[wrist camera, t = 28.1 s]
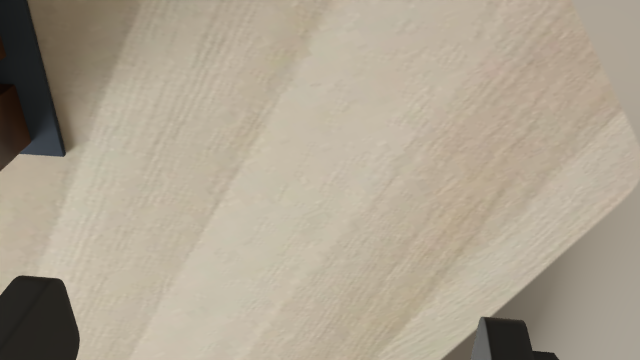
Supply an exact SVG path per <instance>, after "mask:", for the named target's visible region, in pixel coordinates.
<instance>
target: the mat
mask: <svg viewBox="0 0 640 360" xmlns="http://www.w3.org/2000/svg"><path fill="white" fill-rule="evenodd" d="M0 36H1V39H2V43H3V46H4V50H5V53H6V57H5V58H3V59H2V60H0V84H12V85H15V87H16V90H17V93H18V97H19V100H20V104H21V107H22V111H23V114H24V118H25V121H26V125H27V128H28V131H29V135H30V138H31V143H30V144H29V145H28V146H27V147H26V148H25V149H24V150H23V151H21V152H20V153H19V154H31V155H46V156H60V157H64V156H65V155H66V152H65V148H64V144H63V140H62V137H61V133H60V129H59V125H58V121H57V117H56V113H55V109H54V105H53V102H52V98H51V94H50V90H49V86H48V82H47V78H46V74H45V70H44V66H43V63H42V59H41V55H40V51H39V47H38V43H37V39H36V35H35V31H34V28H33V24H32V20H31V16H30V12H29V8H28V4H27V0H0Z"/></svg>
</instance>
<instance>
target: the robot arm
mask: <svg viewBox="0 0 640 360" xmlns="http://www.w3.org/2000/svg"><path fill="white" fill-rule="evenodd" d="M79 342H80V337H79V331H78V327H77V324H76V321H75V317H74V314H73V311H72V307H71V304H70V301H69V297H68V294H67V291H66V287H65V285H64V283H63V281H62V280H60V279H57V278H46V277H34V276H23V275H22V276H18V277H16V278H15V279H14V280H13V281H12V282H11V283H10V284H9V285H8V287H7V288H6V289H5V290H4V292H3V293H2V294H1V295H0V360H76V357H77V354H78V350H79ZM471 360H559V359H558V358H557V357H556V355H555V354H554V353H549V352H539V351H532V347H531V343H530V339H529V335H528V331H527V327H526V324H525V322H524V321H523V320H514V319H502V318H491V317H481V318H480V320H479V324H478V328H477V333H476V337H475V342H474V347H473V351H472V356H471Z"/></svg>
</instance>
